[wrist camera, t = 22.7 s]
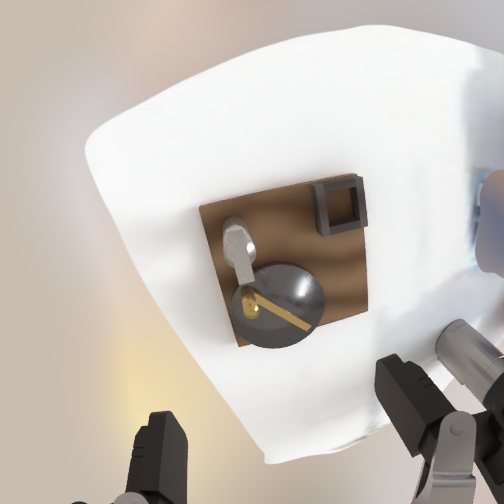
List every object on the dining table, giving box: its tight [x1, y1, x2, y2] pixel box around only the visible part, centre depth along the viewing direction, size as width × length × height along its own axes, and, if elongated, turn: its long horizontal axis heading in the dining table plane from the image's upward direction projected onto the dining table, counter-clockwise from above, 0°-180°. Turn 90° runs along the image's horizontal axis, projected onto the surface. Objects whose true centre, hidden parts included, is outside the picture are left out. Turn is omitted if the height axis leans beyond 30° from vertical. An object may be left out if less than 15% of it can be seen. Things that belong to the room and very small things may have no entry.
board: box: [199, 173, 368, 347], centre depth 37 cm, size 20×20×3 cm
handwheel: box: [231, 261, 325, 349], centre depth 35 cm, size 12×12×6 cm
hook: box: [223, 215, 256, 285], centre depth 30 cm, size 5×3×11 cm, turn 12°
